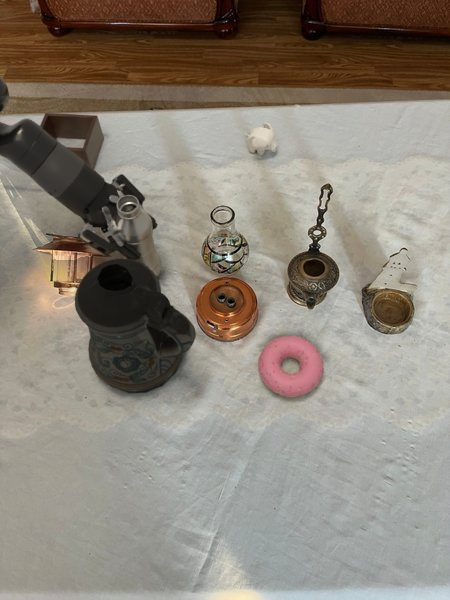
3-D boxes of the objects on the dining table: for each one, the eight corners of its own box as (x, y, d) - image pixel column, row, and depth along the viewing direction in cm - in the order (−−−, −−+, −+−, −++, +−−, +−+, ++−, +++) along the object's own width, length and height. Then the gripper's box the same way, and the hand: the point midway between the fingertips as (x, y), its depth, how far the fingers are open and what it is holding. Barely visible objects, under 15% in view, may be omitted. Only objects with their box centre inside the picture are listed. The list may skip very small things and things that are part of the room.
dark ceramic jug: (98, 312, 97) (57, 227, 75) (203, 309, 97) (192, 224, 75) (87, 397, 89) (38, 330, 67) (202, 395, 88) (189, 327, 67)
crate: (43, 175, 115) (30, 147, 108) (56, 141, 120) (45, 112, 113) (94, 178, 114) (85, 150, 107) (105, 143, 119) (97, 115, 112)
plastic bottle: (160, 254, 103) (144, 184, 85) (165, 283, 99) (150, 216, 82) (127, 260, 102) (105, 191, 85) (132, 289, 99) (109, 223, 81)
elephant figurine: (271, 166, 114) (272, 145, 109) (237, 155, 116) (237, 134, 111) (282, 145, 117) (284, 124, 112) (250, 135, 119) (250, 114, 114)
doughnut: (254, 344, 93) (254, 333, 89) (315, 338, 93) (318, 327, 89) (261, 403, 87) (262, 394, 84) (327, 397, 87) (331, 388, 84)
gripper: (54, 205, 77) (140, 271, 85) (99, 138, 84) (175, 206, 92) (35, 218, 83) (117, 279, 91) (78, 155, 89) (151, 217, 97)
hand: (146, 242), depth 91 cm, fingers closed on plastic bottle, 6 cm apart
